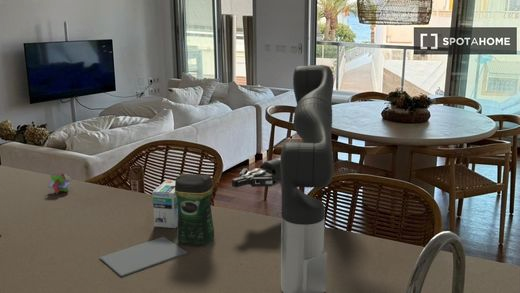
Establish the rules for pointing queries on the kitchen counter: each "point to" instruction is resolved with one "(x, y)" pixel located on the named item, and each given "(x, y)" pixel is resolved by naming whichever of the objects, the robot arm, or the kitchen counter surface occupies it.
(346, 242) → the kitchen counter surface
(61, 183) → the geometric puzzle
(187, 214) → the coffee jar
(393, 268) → the kitchen counter surface
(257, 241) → the kitchen counter surface
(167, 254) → the grey flat rectangular panel
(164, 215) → the light bulb box
